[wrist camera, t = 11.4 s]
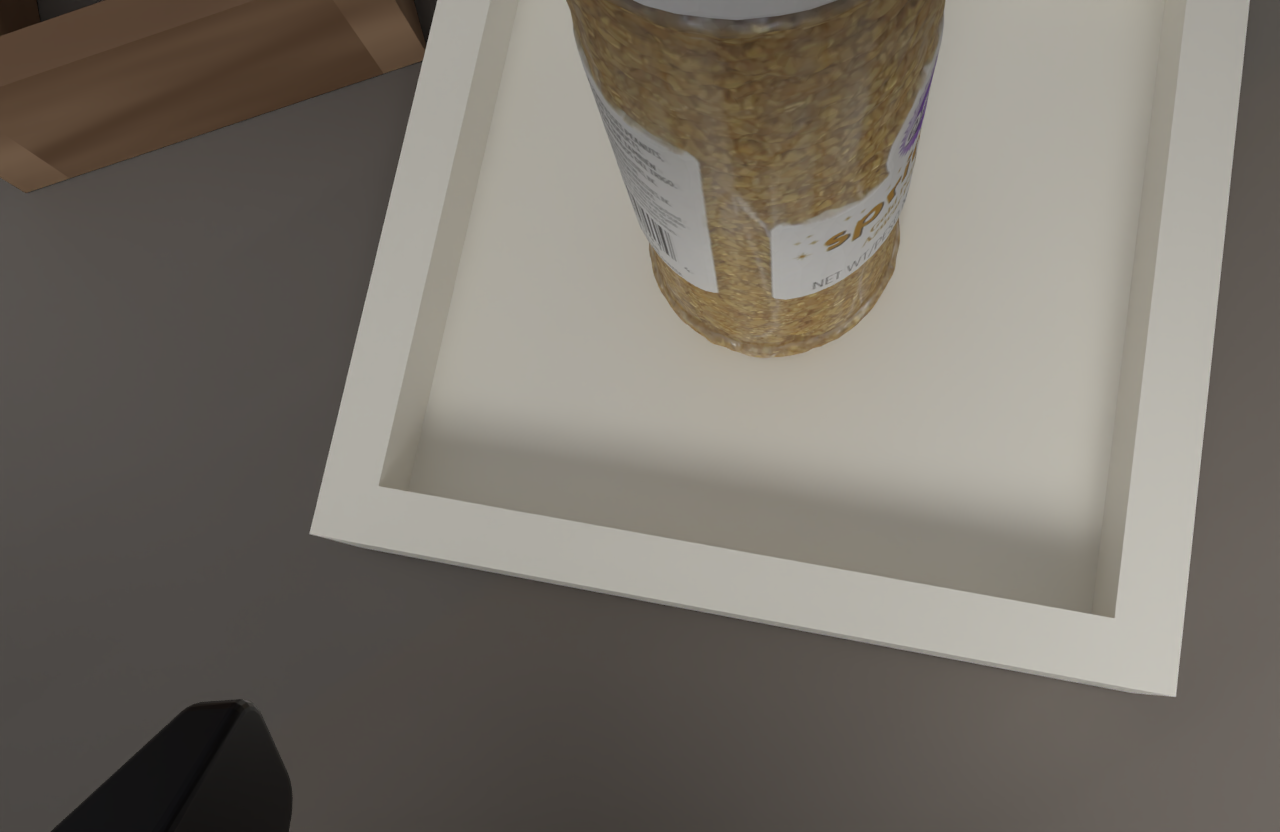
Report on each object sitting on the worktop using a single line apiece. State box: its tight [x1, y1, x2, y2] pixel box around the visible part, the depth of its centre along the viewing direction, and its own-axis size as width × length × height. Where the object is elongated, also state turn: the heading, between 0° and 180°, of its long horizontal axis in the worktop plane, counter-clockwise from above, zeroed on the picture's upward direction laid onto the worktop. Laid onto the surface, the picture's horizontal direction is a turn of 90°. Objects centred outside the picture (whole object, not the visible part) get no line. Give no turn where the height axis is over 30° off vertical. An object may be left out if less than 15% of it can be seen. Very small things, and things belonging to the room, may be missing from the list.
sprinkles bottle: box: [566, 0, 946, 358], centre depth 15 cm, size 5×5×14 cm
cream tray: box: [310, 0, 1250, 697], centre depth 21 cm, size 14×14×2 cm
